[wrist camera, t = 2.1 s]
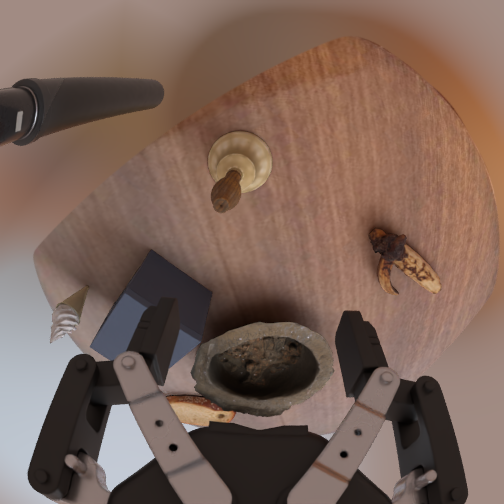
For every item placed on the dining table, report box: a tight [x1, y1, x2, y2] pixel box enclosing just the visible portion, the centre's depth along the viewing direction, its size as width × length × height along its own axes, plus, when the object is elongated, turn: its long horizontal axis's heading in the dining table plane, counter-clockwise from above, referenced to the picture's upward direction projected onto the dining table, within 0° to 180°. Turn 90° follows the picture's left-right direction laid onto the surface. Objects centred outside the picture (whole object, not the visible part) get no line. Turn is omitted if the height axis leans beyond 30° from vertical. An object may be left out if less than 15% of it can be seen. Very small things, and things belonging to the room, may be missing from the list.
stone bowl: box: [191, 322, 334, 417], centre depth 50 cm, size 25×25×9 cm
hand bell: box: [208, 131, 272, 213], centre depth 30 cm, size 8×8×16 cm
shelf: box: [90, 250, 212, 368], centre depth 44 cm, size 12×16×11 cm
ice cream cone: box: [50, 286, 89, 343], centre depth 42 cm, size 5×5×15 cm
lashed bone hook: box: [369, 228, 441, 295], centre depth 42 cm, size 9×5×18 cm
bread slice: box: [166, 395, 236, 426], centre depth 66 cm, size 18×18×4 cm
